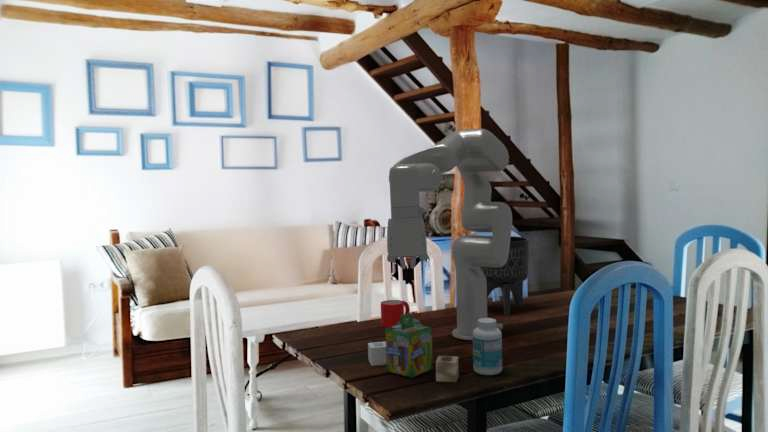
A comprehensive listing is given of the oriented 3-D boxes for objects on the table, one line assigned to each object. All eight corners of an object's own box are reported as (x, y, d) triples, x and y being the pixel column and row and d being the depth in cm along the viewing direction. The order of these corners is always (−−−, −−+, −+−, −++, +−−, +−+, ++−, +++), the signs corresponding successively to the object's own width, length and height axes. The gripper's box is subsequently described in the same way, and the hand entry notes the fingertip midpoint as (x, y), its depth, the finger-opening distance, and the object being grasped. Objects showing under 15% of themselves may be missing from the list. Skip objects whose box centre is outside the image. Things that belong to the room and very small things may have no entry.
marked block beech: (458, 375, 152) (458, 355, 152) (456, 382, 147) (455, 361, 147) (439, 374, 153) (438, 355, 153) (436, 381, 149) (435, 361, 148)
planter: (536, 315, 211) (535, 241, 209) (480, 317, 211) (479, 243, 209) (523, 303, 231) (522, 235, 229) (472, 304, 231) (471, 236, 229)
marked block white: (385, 358, 168) (385, 340, 167) (389, 364, 163) (389, 345, 163) (368, 360, 167) (367, 342, 166) (371, 366, 162) (370, 347, 162)
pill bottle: (470, 367, 158) (469, 317, 157) (497, 365, 159) (496, 315, 158) (477, 377, 151) (476, 324, 150) (505, 375, 151) (505, 322, 150)
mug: (417, 322, 207) (416, 299, 207) (393, 329, 199) (392, 305, 198) (400, 318, 213) (399, 296, 212) (376, 325, 204) (375, 302, 204)
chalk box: (411, 379, 151) (410, 321, 150) (385, 371, 157) (383, 316, 156) (434, 369, 157) (433, 314, 156) (407, 362, 164) (406, 309, 163)
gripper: (432, 210, 158) (435, 278, 160) (376, 213, 158) (379, 281, 159) (436, 213, 151) (438, 284, 152) (376, 216, 150) (380, 287, 152)
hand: (408, 282), depth 156 cm, fingers closed
